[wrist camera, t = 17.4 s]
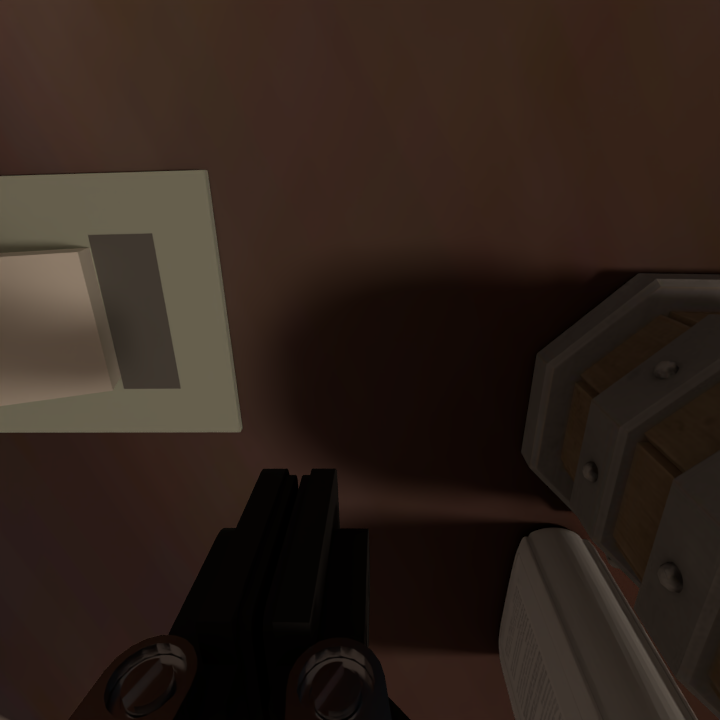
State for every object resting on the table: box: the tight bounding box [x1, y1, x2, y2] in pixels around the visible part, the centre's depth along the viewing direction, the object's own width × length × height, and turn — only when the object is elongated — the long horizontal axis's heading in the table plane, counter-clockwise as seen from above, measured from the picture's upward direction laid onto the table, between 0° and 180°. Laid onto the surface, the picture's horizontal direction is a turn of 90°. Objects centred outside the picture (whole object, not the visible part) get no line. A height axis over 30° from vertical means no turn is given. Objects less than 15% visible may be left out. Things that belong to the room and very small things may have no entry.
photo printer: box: [499, 527, 698, 720], centre depth 20 cm, size 10×4×12 cm, turn 179°
